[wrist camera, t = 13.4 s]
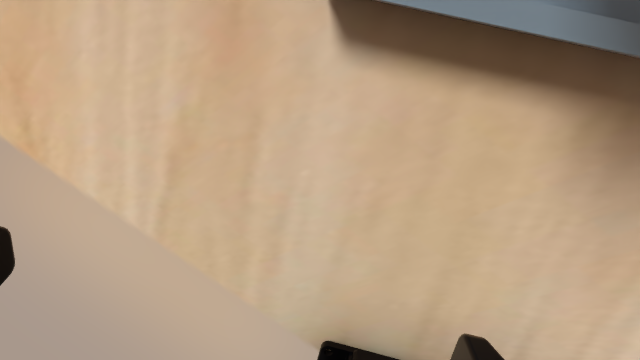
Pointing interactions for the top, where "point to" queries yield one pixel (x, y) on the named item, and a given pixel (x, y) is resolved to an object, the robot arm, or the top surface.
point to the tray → (550, 19)
